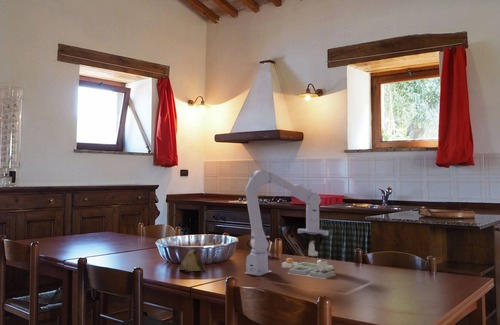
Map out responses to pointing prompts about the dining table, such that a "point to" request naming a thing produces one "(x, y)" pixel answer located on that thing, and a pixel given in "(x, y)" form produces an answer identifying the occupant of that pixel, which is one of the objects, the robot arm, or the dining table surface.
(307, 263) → the tray
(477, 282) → the dining table surface
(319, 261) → the cylinder
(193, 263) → the rock
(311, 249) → the cylinder
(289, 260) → the button cap
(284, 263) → the button housing
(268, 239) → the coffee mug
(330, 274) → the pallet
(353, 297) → the dining table surface
